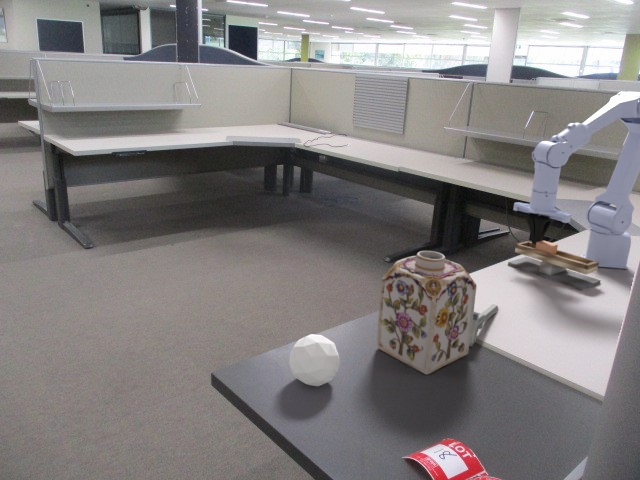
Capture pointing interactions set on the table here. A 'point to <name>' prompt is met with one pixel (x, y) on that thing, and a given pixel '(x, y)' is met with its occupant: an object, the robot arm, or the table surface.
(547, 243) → the block
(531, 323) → the table surface
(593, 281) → the balance beam
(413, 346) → the decorative jar
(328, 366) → the ball
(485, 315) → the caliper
